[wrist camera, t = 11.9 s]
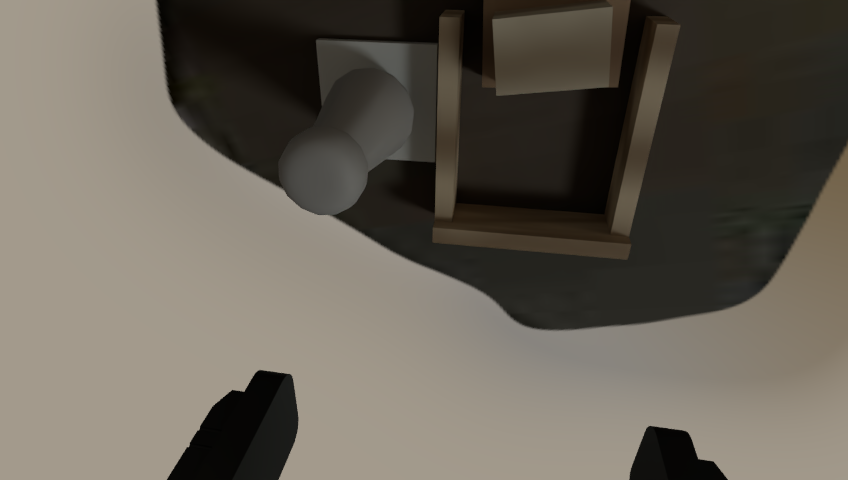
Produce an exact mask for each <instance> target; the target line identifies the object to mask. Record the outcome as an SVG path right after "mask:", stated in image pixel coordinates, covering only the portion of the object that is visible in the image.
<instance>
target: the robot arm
mask: <svg viewBox="0 0 848 480" xmlns="http://www.w3.org/2000/svg"><path fill="white" fill-rule="evenodd" d="M297 429H298V411H297V404H296V397H295V390H294V383H293V378H292V376H291V375H290V374H284V373H277V372H270V371H263V370H259V371H257V372H256V373H255V375H254V376H253V378H252V379H251V381H250V383H249V385H248V386H247V388H246V390H245V392H242V391H235V390H232V391H231V392H229V393H228V394H227V395H226V396H225V397H223V398H222V399H221V400H220V401H219V402H217V403H216V404H215V405H214V406H213V407H212V409H211V410H210V412H209V413H208V415H207V416H206V418H205V420H204V421H203V423H202V424H201V426H200V430H199V431H197V432H196V434H195V436H194V437H193V439H192V440H191V442H190V446H189V447H187V448H186V450H185V452H184V453H183V455H182V456H181V458H180V460H179V461H178V463H177V464H176V466H175V467H174V469H173V471H172V472H171V474H170V476H169V477H168V479H167V480H278V479H279V477H280V475H281V472H282V470H283V468H284V465H285V463H286V461H287V458H288V456H289V454H290V451H291V449H292V447H293V444H294V442H295V438H296V434H297ZM629 480H728V479H727V478H726V477H725V476H724V474H723V473H722V472H721V471H720V469H719V468H718V467H717V465H716V464H715V463H714V462H713V461H706V460H700V459H698V457H697V454H696V451H695V448H694V445H693V442H692V439H691V437H690V435H689V434H688V432H686V431H682V430H675V429H668V428H660V427H653V426H649V427H648V428H647V429H646V431H645V433H644V436H643V439H642V441H641V444H640V447H639V449H638V452H637V455H636V457H635V460H634V463H633V465H632V468H631V472H630V479H629Z"/></svg>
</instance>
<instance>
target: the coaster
mask: <svg viewBox="0 0 848 480" xmlns="http://www.w3.org/2000/svg"><path fill="white" fill-rule="evenodd" d="M316 48H317V59H318V69H319V80H320V91H321V102H322V106H323V104H324V101H325V99H326V97H327V95H328V93H329V92H330V90H331V88H332V86H333V84H334V82H335V81H336V80H337V79H339V78H340V77H342V76H343V75H345V74H346V73H348V72H350V71H351V70H353V69H363V68H376V69H379V70H381V71H384V72H386V73H388V74H391V75H393V76H394V77H395V78H396V79H397V80H398V81H399V82H400V83H401V84H402V85H403V86H404V88H405V89H406V90H407V91H408V94H409V97H410V100H411V102H412V105H413V108H414V116H413V124H412V131H411V133H410V135H409V136H408V138H407V139H406V141H405V143H404V144H403V146H402V147H401V148H400V149H399V150H397V151H396V152H395V153H393V154H392V155H391V156H389V157H388V158H386V159H392V160H407V161H421V162H435V160H436V132H437V87H438V43H426V42H401V41H375V40H350V39H325V38H318V39H317V40H316Z"/></svg>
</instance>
